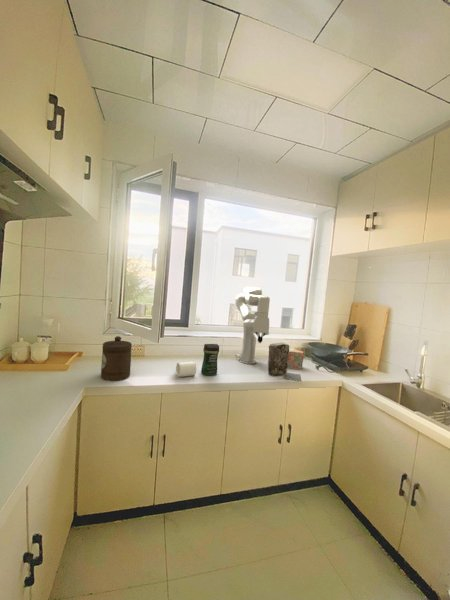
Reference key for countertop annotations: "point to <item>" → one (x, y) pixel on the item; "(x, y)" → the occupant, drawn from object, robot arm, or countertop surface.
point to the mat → (292, 376)
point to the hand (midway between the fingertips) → (259, 342)
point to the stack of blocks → (295, 359)
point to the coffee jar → (210, 359)
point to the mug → (186, 369)
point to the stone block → (278, 358)
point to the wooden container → (116, 360)
